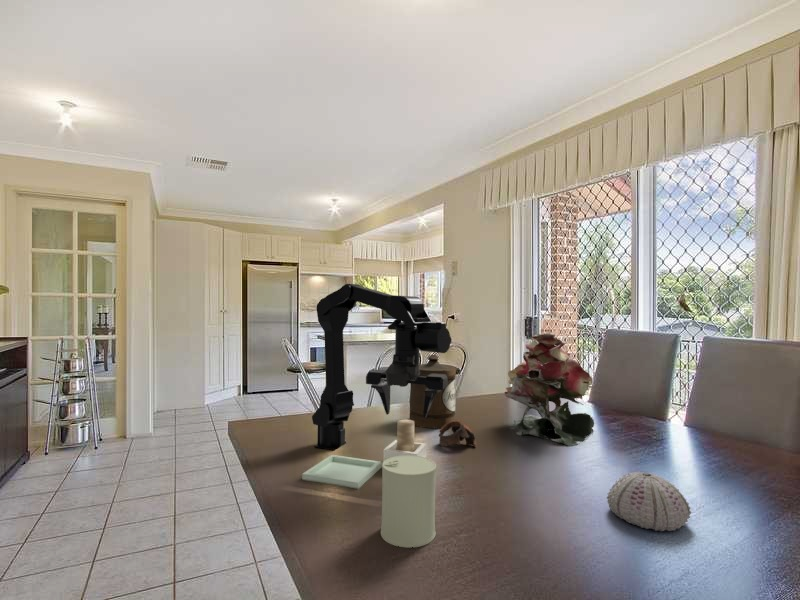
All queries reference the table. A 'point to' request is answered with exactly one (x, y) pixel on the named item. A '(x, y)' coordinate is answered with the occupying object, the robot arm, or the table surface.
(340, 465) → the tray
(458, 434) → the brown rounded hollow piece
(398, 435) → the dowel
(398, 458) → the can
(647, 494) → the sea urchin shell
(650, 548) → the table surface
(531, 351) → the rose bouquet
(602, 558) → the table surface
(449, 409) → the wooden container
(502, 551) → the table surface
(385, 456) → the white square tube
